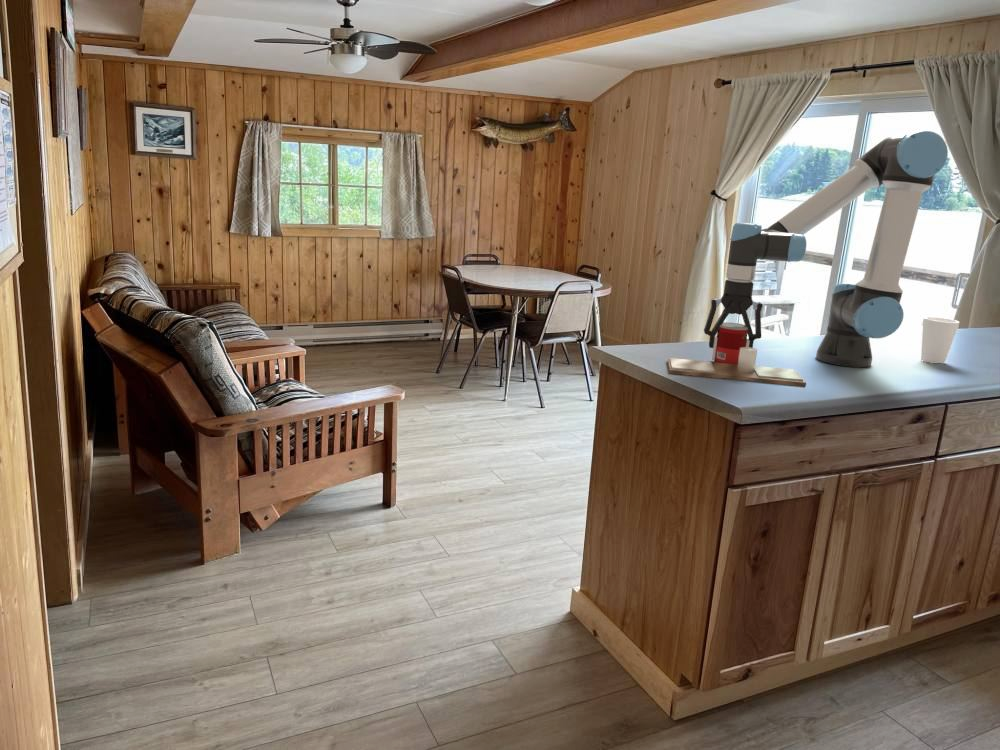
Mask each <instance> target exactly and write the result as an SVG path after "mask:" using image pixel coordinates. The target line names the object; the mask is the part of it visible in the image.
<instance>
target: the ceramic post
mask: <svg viewBox="0 0 1000 750" xmlns="http://www.w3.org/2000/svg"><path fill="white" fill-rule="evenodd" d="M757 355H758V349H757V348H754V347H753V348H750V347H741V348H740V352H739V359H738V366H737V371H740V372H744V373H754V370H755V366H756V364H757V363H756V361H757Z"/></svg>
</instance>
